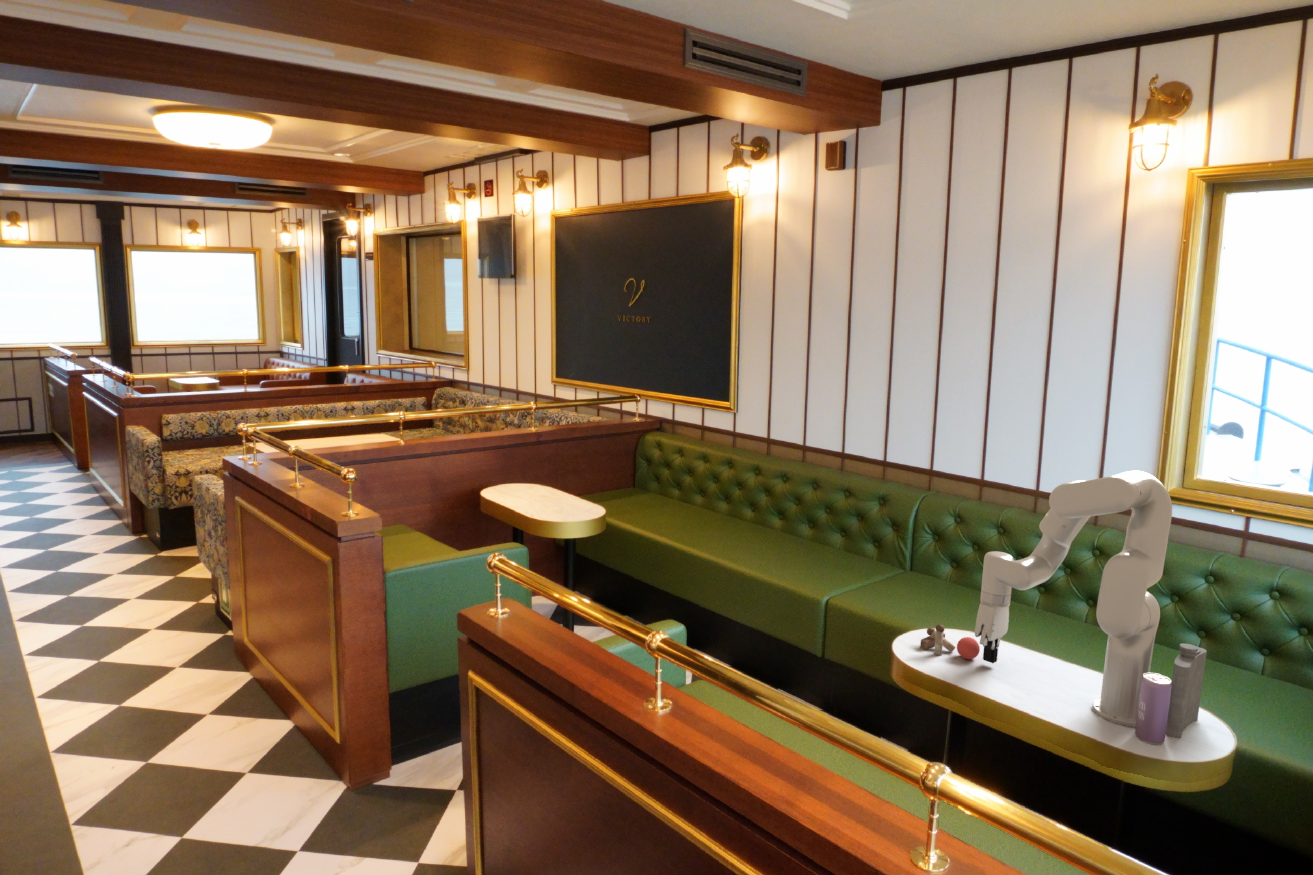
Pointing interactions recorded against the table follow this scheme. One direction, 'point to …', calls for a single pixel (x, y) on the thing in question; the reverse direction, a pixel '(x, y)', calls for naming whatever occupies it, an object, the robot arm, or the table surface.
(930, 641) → the stopper wall
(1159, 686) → the beverage can
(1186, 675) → the hip flask
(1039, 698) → the table surface
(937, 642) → the pin
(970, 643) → the ball
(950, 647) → the pin
